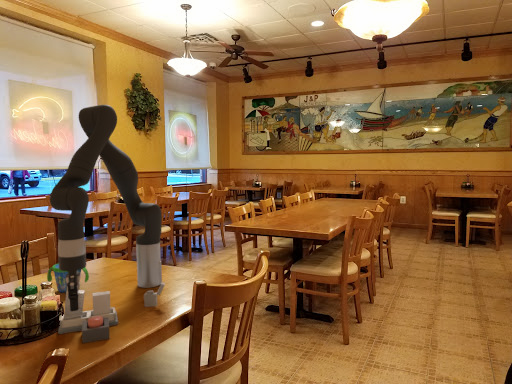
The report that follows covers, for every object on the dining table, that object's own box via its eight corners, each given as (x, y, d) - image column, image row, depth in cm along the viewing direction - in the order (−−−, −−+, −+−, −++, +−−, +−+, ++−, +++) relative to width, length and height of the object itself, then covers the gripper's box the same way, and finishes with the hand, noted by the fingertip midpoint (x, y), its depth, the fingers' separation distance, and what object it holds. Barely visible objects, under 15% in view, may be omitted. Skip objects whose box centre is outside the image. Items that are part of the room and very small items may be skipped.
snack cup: (94, 286, 154) (93, 261, 154) (78, 295, 144) (77, 269, 143) (59, 284, 157) (58, 260, 156) (41, 293, 146) (39, 267, 146)
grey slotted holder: (116, 313, 127) (115, 287, 126) (117, 324, 118) (116, 296, 118) (61, 322, 120) (59, 294, 120) (58, 334, 112) (56, 304, 111)
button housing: (108, 328, 115) (108, 317, 115) (109, 338, 109) (109, 326, 109) (83, 332, 113) (82, 321, 113) (82, 343, 106) (81, 331, 106)
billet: (82, 315, 120) (84, 290, 119) (81, 319, 117) (84, 293, 117) (64, 315, 118) (66, 290, 118) (63, 319, 115) (66, 293, 115)
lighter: (144, 306, 133) (143, 284, 132) (145, 305, 134) (144, 282, 134) (165, 305, 133) (164, 283, 133) (165, 303, 135) (165, 281, 134)
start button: (103, 323, 113) (102, 315, 113) (103, 328, 110) (103, 320, 109) (88, 325, 112) (88, 317, 112) (88, 331, 108) (87, 322, 108)
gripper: (85, 257, 111) (87, 315, 112) (86, 247, 124) (88, 299, 125) (55, 259, 108) (58, 319, 110) (60, 249, 121) (63, 302, 122)
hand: (74, 308), depth 117 cm, fingers closed on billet, 2 cm apart
